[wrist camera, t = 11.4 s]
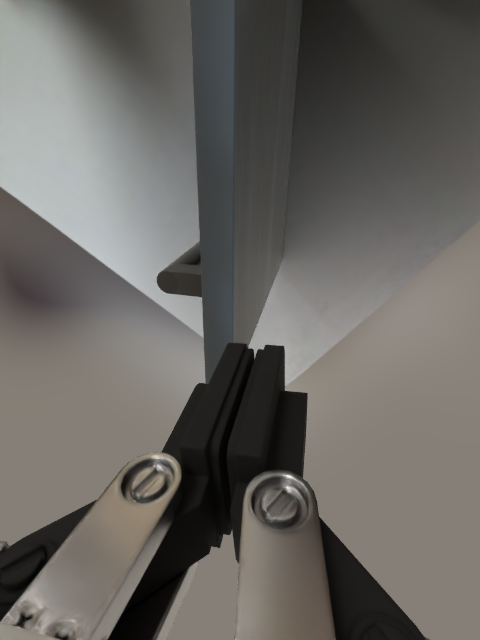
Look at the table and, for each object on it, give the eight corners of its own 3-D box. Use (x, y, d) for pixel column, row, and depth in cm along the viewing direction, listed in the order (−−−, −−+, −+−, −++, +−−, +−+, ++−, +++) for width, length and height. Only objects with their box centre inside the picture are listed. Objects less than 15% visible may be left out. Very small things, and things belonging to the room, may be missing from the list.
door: (220, 254, 41) (112, 368, 21) (216, -47, 29) (-63, -504, 8) (282, 259, 40) (232, 388, 19) (306, -55, 27) (239, -633, 7)
